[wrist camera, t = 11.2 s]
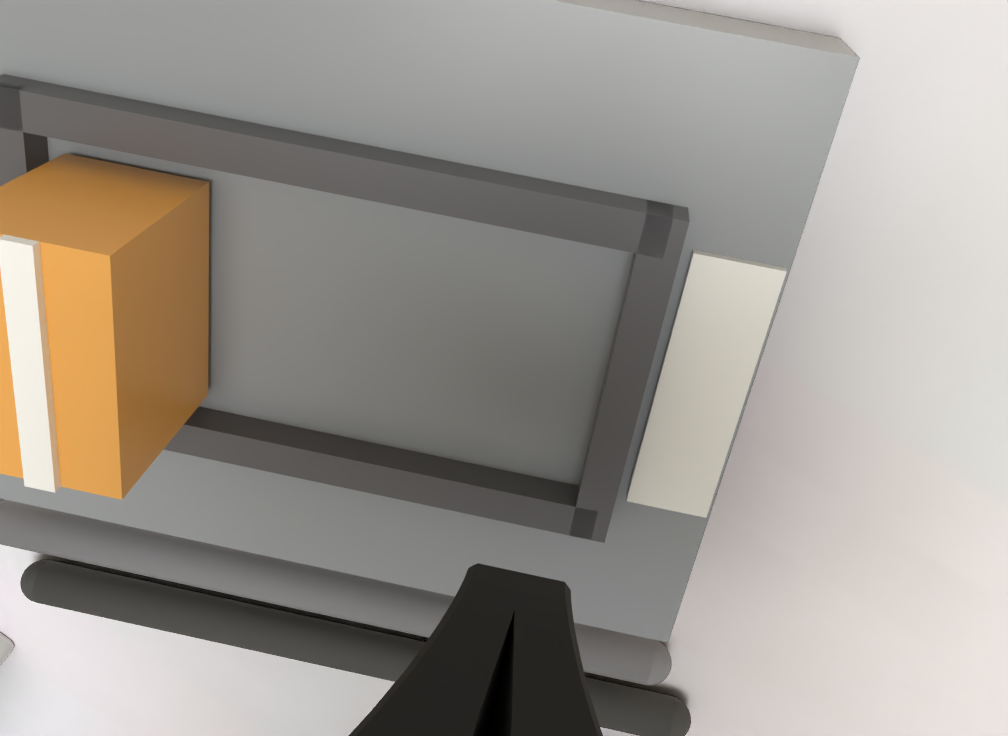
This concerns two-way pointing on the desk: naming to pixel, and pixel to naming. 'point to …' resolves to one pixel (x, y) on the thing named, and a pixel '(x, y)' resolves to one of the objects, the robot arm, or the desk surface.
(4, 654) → the light bulb box
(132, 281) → the lever
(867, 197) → the desk surface
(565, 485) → the breaker panel
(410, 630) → the dark gray parallel rods
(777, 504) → the desk surface
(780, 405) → the desk surface
